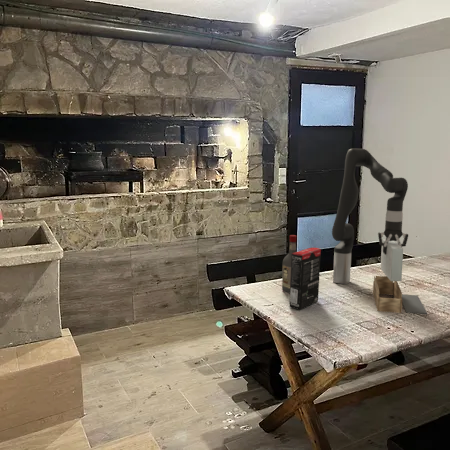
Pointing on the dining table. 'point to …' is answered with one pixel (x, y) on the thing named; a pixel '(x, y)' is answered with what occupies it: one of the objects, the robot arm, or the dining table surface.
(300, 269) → the graphics card box
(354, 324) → the dining table surface
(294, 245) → the liquor
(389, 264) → the skincare box
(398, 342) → the dining table surface
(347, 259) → the robot arm
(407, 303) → the mat
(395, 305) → the carton
